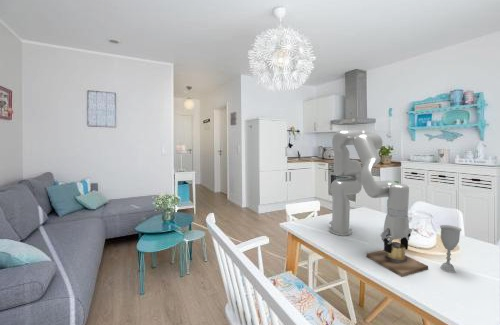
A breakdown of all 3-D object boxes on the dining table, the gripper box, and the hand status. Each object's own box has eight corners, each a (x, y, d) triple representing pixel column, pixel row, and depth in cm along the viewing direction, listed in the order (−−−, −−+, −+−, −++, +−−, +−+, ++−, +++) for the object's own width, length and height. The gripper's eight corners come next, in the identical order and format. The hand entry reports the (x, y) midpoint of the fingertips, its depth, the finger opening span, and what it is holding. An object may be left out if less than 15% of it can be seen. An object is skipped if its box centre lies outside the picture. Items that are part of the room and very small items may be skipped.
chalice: (449, 275, 98) (452, 231, 96) (433, 266, 104) (435, 226, 103) (463, 272, 100) (466, 229, 98) (445, 264, 106) (448, 224, 105)
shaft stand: (366, 256, 114) (366, 238, 113) (390, 251, 119) (391, 233, 118) (401, 276, 97) (402, 255, 97) (427, 269, 103) (429, 248, 102)
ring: (383, 254, 110) (383, 243, 110) (394, 251, 112) (395, 241, 112) (396, 261, 104) (397, 249, 103) (408, 258, 106) (408, 247, 106)
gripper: (404, 207, 113) (402, 243, 114) (375, 212, 107) (373, 249, 109) (420, 212, 106) (418, 250, 107) (390, 217, 100) (388, 257, 102)
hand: (395, 249), depth 108 cm, fingers open, 9 cm apart
